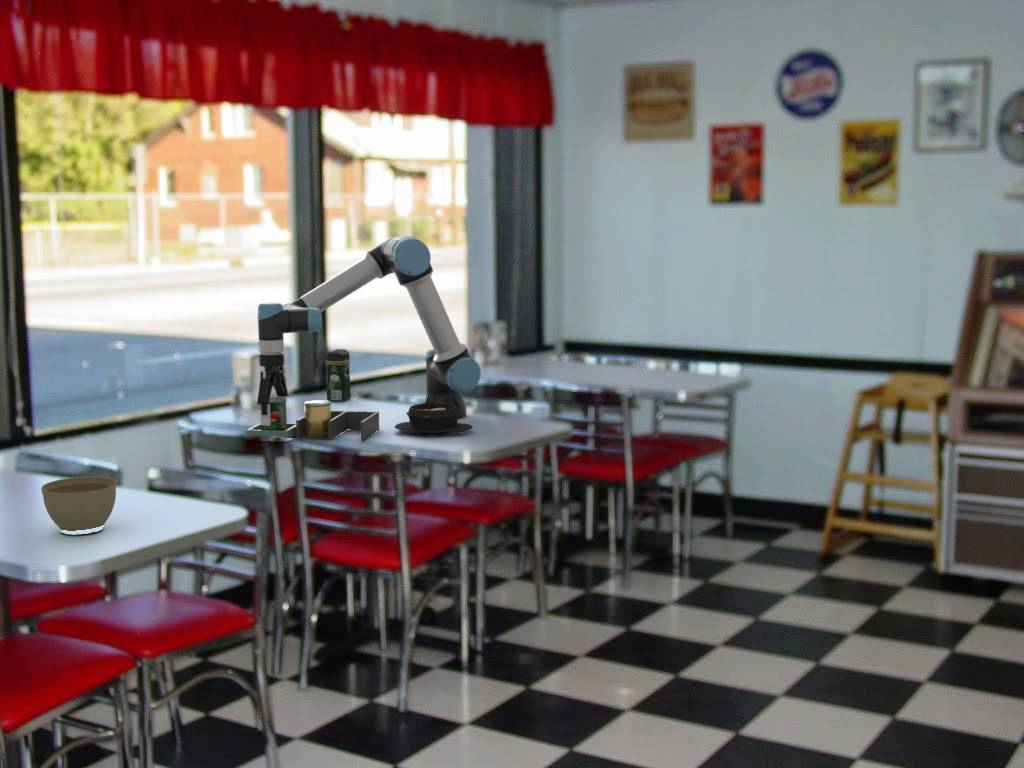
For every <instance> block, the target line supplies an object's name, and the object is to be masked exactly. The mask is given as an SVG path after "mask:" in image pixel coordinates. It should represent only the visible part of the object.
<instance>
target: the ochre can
mask: <svg viewBox="0 0 1024 768" xmlns="http://www.w3.org/2000/svg"><path fill="white" fill-rule="evenodd" d="M331 405H332V401H328V400H327V399H326V400H325V399H324V400H323V399H315V400H314V399H313V400H306V401H304V416H305V436H304V437H305V439H306V440H310V441H320V440H321V441H322V440H329V435H328V421H329V420H331V410H332V406H331Z"/></svg>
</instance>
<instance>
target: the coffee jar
mask: <svg viewBox="0 0 1024 768" xmlns="http://www.w3.org/2000/svg"><path fill="white" fill-rule="evenodd" d="M350 356H351V355H350V352H349V351H348V350H347V349H345V348H343V349H341V348H340V349H339V348H337V349H334V350H331V351H328V352H327V353H326V354H325V367H326V400H327V401H330V402H331V403H332V402H333V403H338V402H346V401H347V400H350V399H351V398H352V392H351V390H352V388H351V375H350V374H351V373H350V364H351V363H350V361H351V357H350Z"/></svg>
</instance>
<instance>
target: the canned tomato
mask: <svg viewBox="0 0 1024 768" xmlns="http://www.w3.org/2000/svg"><path fill="white" fill-rule="evenodd" d="M268 404H270V422H271V425H270V426H268V425H261V430H282V431H285V430H287V423H288V422H287V421H288V420H287V416H288V415H287V398H285V399H284V398H276V397H270V399H269V403H268ZM259 405H260V406H259V407H261V404H259Z"/></svg>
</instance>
